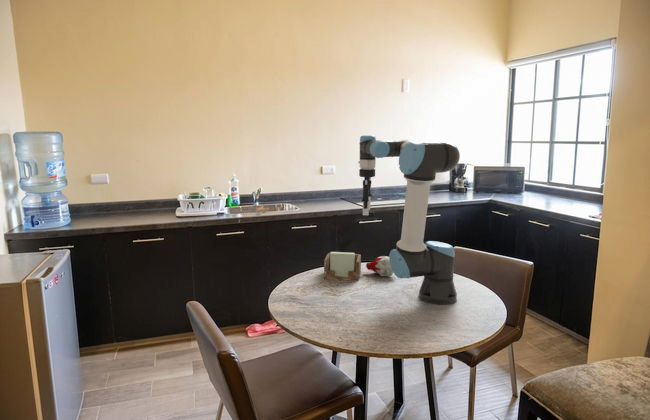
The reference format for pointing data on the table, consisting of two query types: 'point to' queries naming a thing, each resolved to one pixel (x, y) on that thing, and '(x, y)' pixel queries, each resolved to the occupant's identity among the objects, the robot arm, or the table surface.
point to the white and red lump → (380, 266)
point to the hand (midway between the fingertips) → (366, 212)
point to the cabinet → (351, 274)
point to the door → (342, 263)
